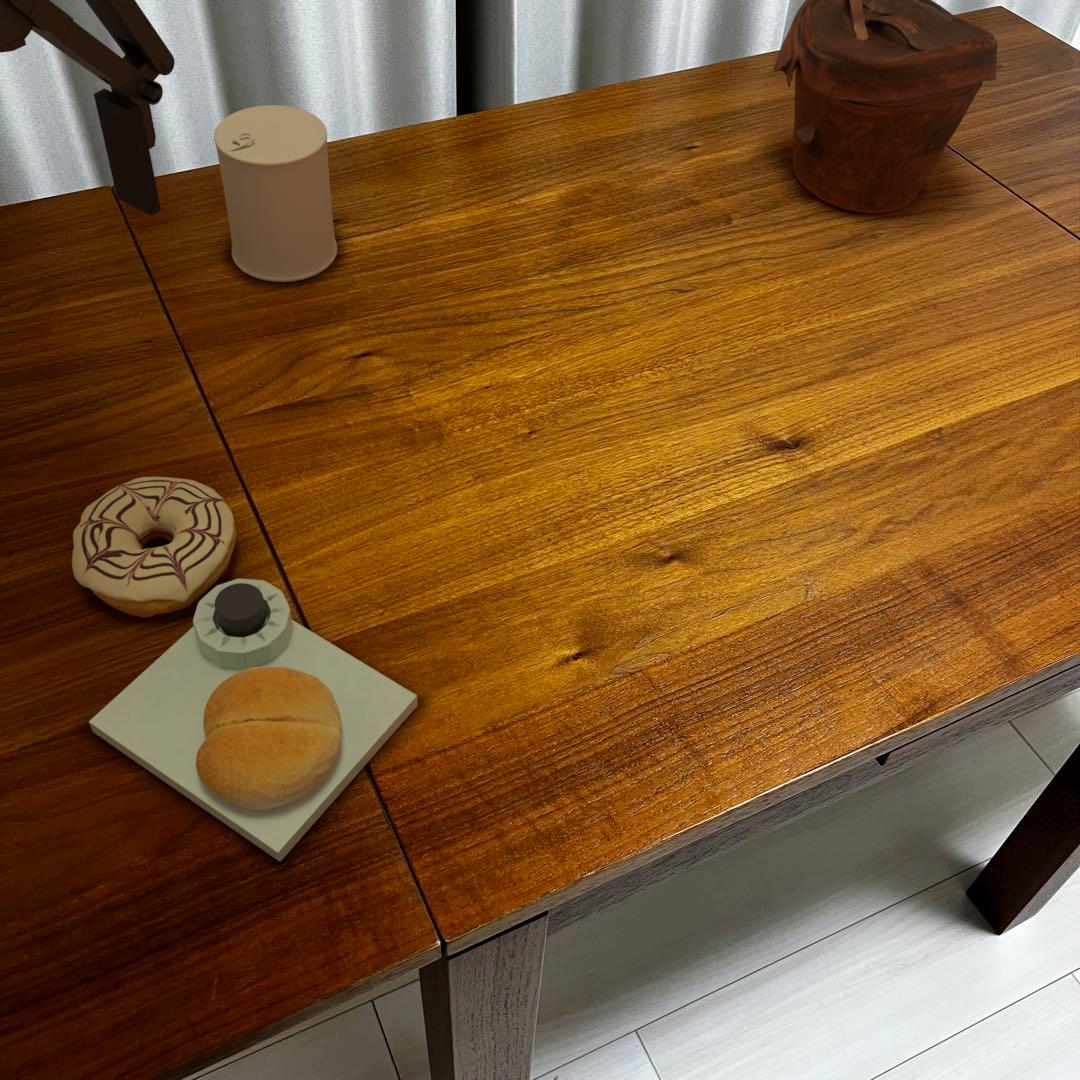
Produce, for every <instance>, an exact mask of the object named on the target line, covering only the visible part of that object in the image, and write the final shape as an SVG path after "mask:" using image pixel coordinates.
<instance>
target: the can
mask: <svg viewBox="0 0 1080 1080" xmlns="http://www.w3.org/2000/svg"><path fill="white" fill-rule="evenodd" d="M213 141H214V145H215V147H216V152H217V153H216V154H217V158H218V163H219V169H220V176H221V181H222V182H221V183H222V187H223V188H222V189H223V193H224V200H225V205H226V211H227V218H228V225H229V232H230V239H231V258H232V259H233V260H232V261H233V262H234V264H235V265H236V266H237V268H238V269H240V271H242V272H243V273H245V274H246V275H248V276H250V277H253V278H255V279H258V280H260V281H265V282H272V283H291V282H299V281H303V280H306V279H309V278H312V277H315V276H316V275H319V274H320V273H322V272H324V271H325V270H326V269H328V268H329V267H330V266H331V265H332V263H333V262H334V261H335V259H336V257H337V254H338V244H337V240H336V237H335V228H334V220H333V219H334V218H333V217H334V216H333V208H332V207H333V206H332V193H331V182H330V168H329V154H328V130H327V127H326V124H324V121H322V120H321V119H320V118H319V117H318V116H316V115H315V114H313V113H311V112H309V111H308V110H305V109H301V108H298V107H294V106H289V105H281V104H280V105H278V104H265V105H257V106H250V107H247V108H243V109H240V110H237V111H235V112H233V113H231V114H229V115H228V116H226V117H225V118H223V119H222V120H221V121H220V122H219V123H218V124H217V126H216V128H215V130H214V134H213Z"/></svg>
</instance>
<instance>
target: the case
mask: <svg viewBox="0 0 1080 1080" xmlns="http://www.w3.org/2000/svg"><path fill="white" fill-rule="evenodd" d="M790 24H791V25H790V27H789V29H788V31H787V34H786V36H785V38H784V40H783V42H782V44H781V46H780V49H779V53H778V56H777V59H776V61H775V65H774V67H773V72H774V73H778V72H783V73H784V74H785V77H786V83H787V87H788V88H790V87H791V86H792V81H793V74H794V113H793V114H794V115H793V120H794V121H793V141H792V142H793V143H792V144H793V145H792V148H793V149H792V167H793V171H794V174H795V177H796V178H797V180H798V181H799V183H800V184H801V185H802V186H803V187H804V189H806V190H807V191H808V193H811V194H812V195H814V196H815V197H816V198H818V199H820V200H821V201H823V202H825V203H828V204H830V205H833V206H834V207H837V208H840V209H843V210H846V211H851V212H857V213H865V214H884V213H886V214H887V213H890V212H893V211H897V210H901V209H902V208H905V207H907V206H909V205H910V204H912V202H913V201H915V199H916V198H917V196H918V194H919V193H920V191H921V189H922V187H923V185H924V184H925V182H926V181H927V179H928V177H929V176H930V174H931V172H932V171H933V169H934V168H935V166H936V164H937V163H938V161H939V159H940V157H941V156H942V154H943V152H944V151H945V149H946V148H947V145H948V144H949V143H950V141H951V139H952V138H953V136H954V134H955V132H956V131H957V129H958V127H959V125H960V124H961V123H962V121H963V119H964V117H965V116H966V114H967V112H968V110H969V108H970V106H971V104H972V103H973V101H974V99H975V97H976V96H977V94H978V92H979V91H980V90H981V88H982V86H983V82H986V81H988V82H991V81H996V80H997V68H998V67H997V66H998V65H997V61H998V60H997V59H998V46H999V45H998V39H997V38H995V35H994V34H993V33H992V32H991V31H988V29H985V28H983V27H982V26H978V25H975V24H973V23H971V22H969V21H967V20H966V19H962V18H959V17H957V16H955V15H954V14H952V13H951V12H949V11H948V10H947V9H946V8H945V7H944V6H942V5H940V4H939V3H937V2H935V1H934V0H805V1H804V2H802V4H801V5H800V7H799V8H798V10H797V11H796V14H795V16H794V17H793V19H792V21H791V23H790Z"/></svg>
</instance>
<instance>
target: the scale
mask: <svg viewBox="0 0 1080 1080" xmlns="http://www.w3.org/2000/svg"><path fill="white" fill-rule="evenodd" d="M237 583H246V584H250V585H253V586H255V587H256V588H258V589H259V590H260V591H261V593H262V595H263V599H264V604H265V610H266V620H265V623H264V625H263V626H262V627H261V628H260V629H259V630H258V631H257V632H255V633H253V634H251V635H248V636H242V637H237V636H232V635H229V634H227V633H226V632H224V631H223V630H222V629H221V627H220V626H219V623H218V618H217V614H216V610H215V599H216V597H217V595H218V594H219V593H220V592H221V591H222V590H223V589H224V588H226V587H228V586H230V585H233V584H237ZM291 610H292V609H291V607H290V605H289V603H288V601H287V598H286V596H285V594H284V592H283V591H282V590H281V589H279V588H278V587H276V586H274V585H272V584H271V583H269V582H268V581H266V580H262V579H252V578H241V577H240V578H239V577H238V578H235V579H233V580H229V581H227V582H226V581H225V582H224V583H220V584H217V585H215V586H214V587H213V588H212V589H211V590H210V591H209V592H208V593H207V594H205V595H204V596H203V597H202V598H201V599H199V601H198V602H197V606H196V609H195V612H194V615H193V618H192V625H193V626H192V627H191V628H190V629H188V631H187V632H186V633H184V634H183V635H182V636H181V637H179V639H178V640H176V642H174V643H173V644H172V645H171V646H170V647H168V649H167V650H165V652H164V653H162V654H161V655H160V656H159V657H158V658H157V659H155V661H154V662H153V663H151V664H150V665H149V666H147V668H146V669H145V670H144V671H143V672H141V673H140V674H139V675H138V676H137V677H135V679H134V680H133V681H132V682H130V683H129V684H128V685H127V686H126V687H125V688H124V689H123V690H122V691H121V692H119V693H118V694H117V695H116V696H115V697H114V698H113V699H111V701H109V702H108V703H107V704H106V705H105V706H103V708H102V709H101V710H100V711H98V712H97V713H96V714H95V715H94V716H93V717H92V718H91V719H90V720H89V721H88V724H89V726H90V728H91V731H92V733H94V735H96V736H98V737H99V738H101V739H102V740H104V741H105V742H107V743H108V744H109V745H110V746H112V747H114V748H115V749H116V750H118V751H120V752H121V753H122V754H124V755H125V756H126V757H128V758H130V759H131V761H134V762H135V763H137V764H138V765H139V766H141V767H142V768H144V769H145V770H147V771H148V772H149V773H151V774H153V775H154V776H155V777H157V778H159V779H160V780H161V781H163V782H164V783H165V784H167V785H169V787H171V788H173V789H174V790H175V791H176V792H178V793H179V794H181V795H182V796H184V797H186V798H187V799H189V800H190V801H191V802H193V803H194V804H196V805H197V806H198V807H200V808H202V809H203V810H204V811H206V812H207V813H208V814H210V815H211V816H213V817H215V818H216V819H217V820H219V821H221V823H223V824H224V825H226V826H227V827H229V828H230V829H232V830H233V831H234V832H236V833H237V834H239V835H241V836H242V837H243V838H244V839H246V840H247V841H248V842H250V843H252V844H253V845H255V846H256V847H257V848H259V849H261V850H262V851H263V852H265V853H266V854H268V855H269V856H271V857H272V858H273V859H275V860H276V861H277V862H280V863H281V862H282V861H283V860H284V859H285V857H286V856H287V855H288V854H289V853H290V851H291V850H293V848H294V847H295V846H296V845H297V843H298V842H299V841H300V840H301V839H302V838H303V836H305V835H306V833H307V832H308V831H309V830H310V829H311V827H312V826H313V825H314V824H315V823H316V822H317V821H318V820H319V819H320V818H321V816H323V814H324V813H325V812H326V810H327V809H328V808H329V807H330V806H331V805H332V804H333V803H334V802H335V800H337V798H338V797H339V796H340V795H341V794H342V792H343V791H344V790H345V789H346V788H347V787H348V785H349V784H351V782H352V781H353V780H354V779H355V778H356V776H357V775H359V773H360V772H361V771H362V770H363V769H364V767H365V766H366V765H367V764H368V763H369V762H370V761H371V759H372V758H373V757H374V756H375V755H376V754H377V753H378V751H379V750H380V749H381V748H382V747H383V746H384V745H385V744H386V742H387V741H388V740H389V739H390V738H391V737H392V735H393V734H394V733H395V732H396V731H397V730H398V729H399V728H400V726H402V725H403V723H404V722H405V721H406V720H407V719H408V717H409V716H410V715H411V714H412V713H413V711H415V709H416V708H417V707H418V695H417V694H416V693H414V692H412V691H410V690H409V689H407V688H406V687H404V686H403V685H401V684H399V683H397V681H395V680H393V679H391V678H389V677H388V676H386V675H385V674H383V673H381V672H380V671H378V670H376V669H375V668H373V667H371V666H369V665H368V664H366V663H365V662H363V661H361V660H359V659H357V658H356V657H355V656H353V655H351V654H350V653H348V652H346V651H344V650H343V649H341V648H339V647H338V646H336V645H335V644H333V643H331V642H330V641H328V640H326V639H325V638H323V637H321V635H318V634H316V633H315V632H313V631H311V630H310V629H308V628H306V627H305V626H303V625H302V624H300V623H298V622H297V621H296V620H293V618H292V617H293V616H292V611H291ZM252 667H286V668H289V669H292V670H297V671H301V672H304V673H307V674H309V675H312V676H314V677H316V678H318V679H319V680H320V681H321V682H323V683H324V684H325V685H326V686H327V687H328V688H329V689H330V691H331V693H332V695H333V697H334V699H335V701H336V703H337V706H338V709H339V712H340V718H341V746H340V750H339V753H338V755H337V759H336V761H335V762H334V764H333V766H332V769H331V770H330V772H329V773H328V775H327V776H326V777H325V779H324V780H323V781H322V782H321V783H320V784H319V785H318V786H317V787H315V788H314V789H313V790H311V791H310V792H309V793H307V794H306V795H304V796H302V797H300V798H299V799H297V800H295V801H293V802H290V803H288V804H286V805H283V806H280V807H275V808H270V809H264V810H252V809H247V808H244V807H241V806H238V805H236V804H233V803H231V802H229V801H227V800H225V799H223V798H221V797H220V796H218V795H217V794H216V793H214V792H213V791H212V790H210V789H209V788H208V787H207V786H206V785H205V784H204V782H203V781H202V780H201V779H200V777H199V775H198V773H197V769H196V766H195V765H196V754H197V752H198V750H199V748H200V746H201V745H202V743H203V742H204V741H205V739H206V737H205V733H204V727H203V718H204V711H205V707H206V704H207V702H208V700H209V698H210V696H211V694H212V693H213V692H214V690H215V689H216V688H217V687H218V686H219V685H220V684H221V683H222V682H224V681H225V680H226V679H228V678H229V677H231V676H233V675H235V674H237V673H239V672H242V671H243V670H245V669H248V668H252Z"/></svg>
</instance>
